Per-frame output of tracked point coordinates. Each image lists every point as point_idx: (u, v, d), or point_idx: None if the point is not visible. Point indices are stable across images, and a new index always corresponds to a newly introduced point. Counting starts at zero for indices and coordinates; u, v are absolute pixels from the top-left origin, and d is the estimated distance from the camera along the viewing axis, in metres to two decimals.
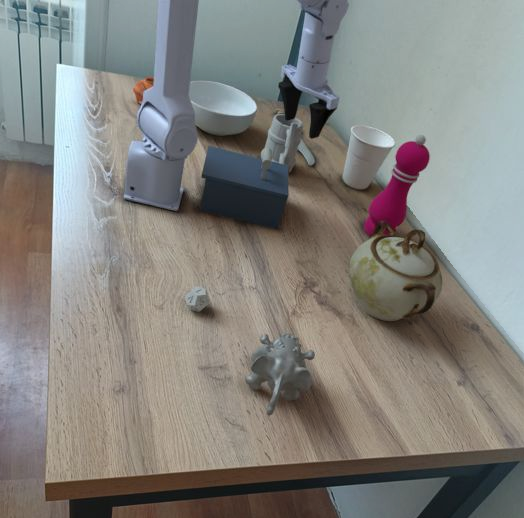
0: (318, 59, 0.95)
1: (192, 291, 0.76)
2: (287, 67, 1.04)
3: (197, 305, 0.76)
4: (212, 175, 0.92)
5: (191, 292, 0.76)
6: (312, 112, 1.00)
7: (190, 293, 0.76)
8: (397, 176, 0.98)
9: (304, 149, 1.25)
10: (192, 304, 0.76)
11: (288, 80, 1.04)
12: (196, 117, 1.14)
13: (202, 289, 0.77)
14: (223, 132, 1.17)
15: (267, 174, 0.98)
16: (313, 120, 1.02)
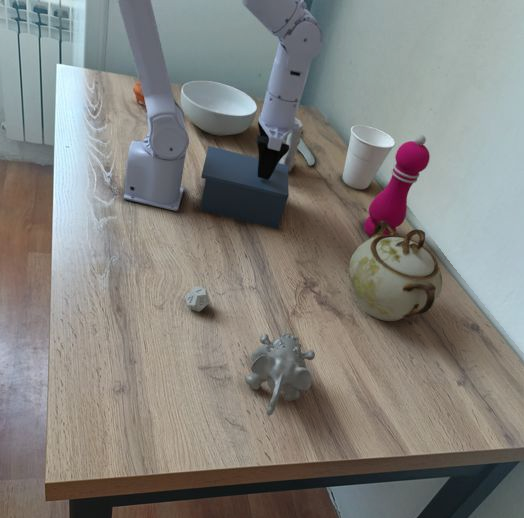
0: (280, 94, 0.85)
1: (192, 291, 0.76)
2: None
3: (197, 305, 0.76)
4: (212, 176, 0.92)
5: (191, 292, 0.76)
6: None
7: (190, 293, 0.76)
8: (397, 176, 0.97)
9: (304, 149, 1.25)
10: (192, 304, 0.76)
11: None
12: (196, 117, 1.14)
13: (202, 289, 0.77)
14: (223, 132, 1.17)
15: None
16: None
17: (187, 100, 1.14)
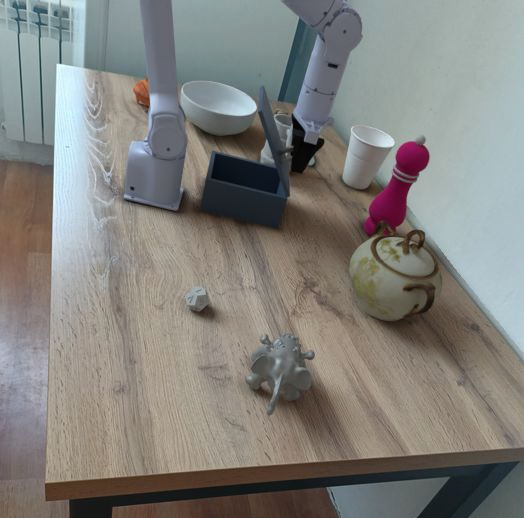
0: (316, 86, 0.84)
1: (192, 291, 0.76)
2: None
3: (197, 305, 0.76)
4: (265, 121, 0.86)
5: (191, 292, 0.76)
6: None
7: (190, 293, 0.76)
8: (397, 176, 0.98)
9: None
10: (192, 304, 0.76)
11: None
12: (196, 117, 1.14)
13: (202, 289, 0.77)
14: (223, 132, 1.17)
15: None
16: (293, 148, 0.91)
17: (187, 100, 1.14)
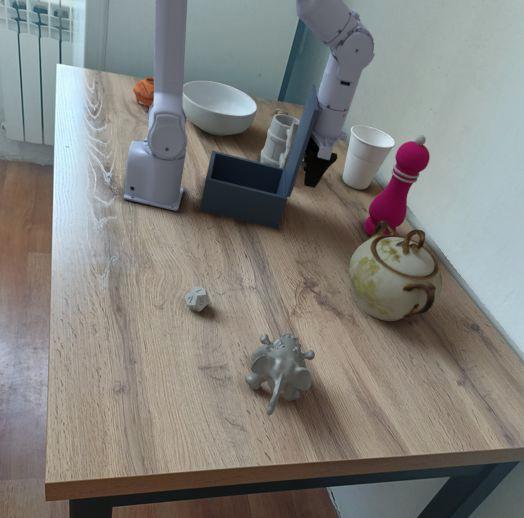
0: (329, 103, 0.86)
1: (192, 291, 0.76)
2: None
3: (197, 305, 0.76)
4: (314, 121, 0.85)
5: (191, 292, 0.76)
6: None
7: (190, 293, 0.76)
8: (397, 176, 0.97)
9: None
10: (192, 304, 0.76)
11: None
12: (196, 117, 1.14)
13: (202, 289, 0.77)
14: (223, 132, 1.17)
15: None
16: (306, 163, 0.92)
17: (187, 100, 1.14)
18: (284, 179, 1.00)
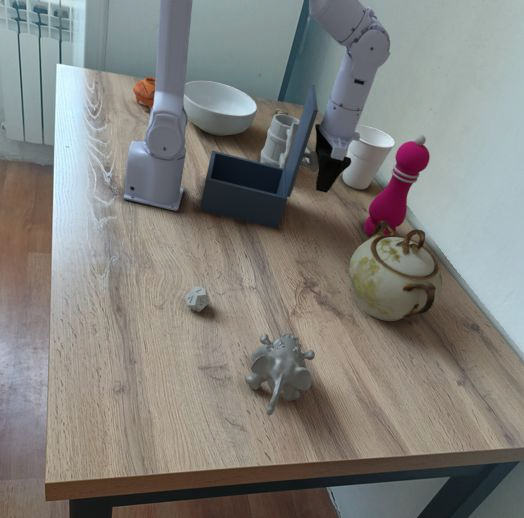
0: (342, 102, 0.84)
1: (192, 291, 0.76)
2: None
3: (197, 305, 0.76)
4: (314, 121, 0.85)
5: (191, 292, 0.76)
6: None
7: (190, 293, 0.76)
8: (397, 176, 0.98)
9: None
10: (192, 304, 0.76)
11: None
12: (196, 117, 1.14)
13: (202, 289, 0.77)
14: (223, 132, 1.17)
15: None
16: (319, 168, 0.90)
17: (187, 100, 1.14)
18: (284, 179, 1.00)
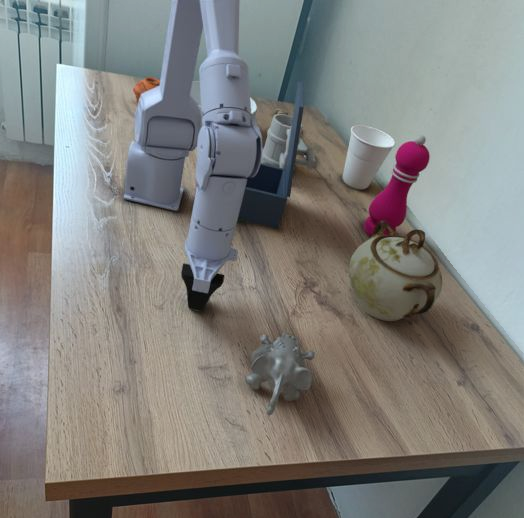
0: None
1: None
2: None
3: None
4: (301, 118, 0.85)
5: None
6: None
7: None
8: (397, 176, 0.97)
9: (304, 149, 1.25)
10: None
11: None
12: None
13: None
14: None
15: None
16: None
17: None
18: (284, 179, 1.00)
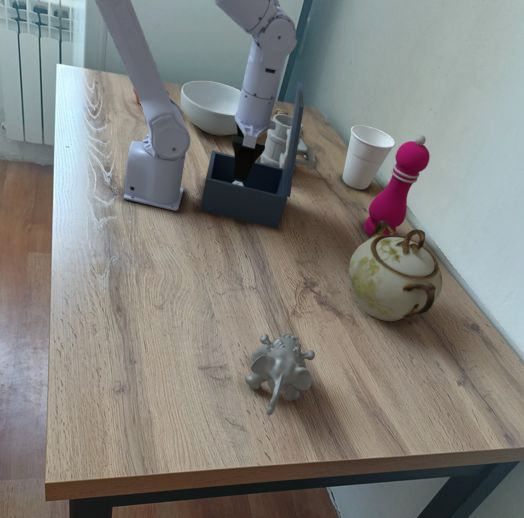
0: (256, 92, 0.85)
1: (233, 183, 0.99)
2: None
3: None
4: (301, 118, 0.85)
5: None
6: None
7: None
8: (397, 176, 0.97)
9: (304, 149, 1.25)
10: None
11: None
12: (196, 117, 1.14)
13: (240, 182, 1.00)
14: (223, 132, 1.17)
15: None
16: None
17: (187, 100, 1.14)
18: (284, 179, 1.00)
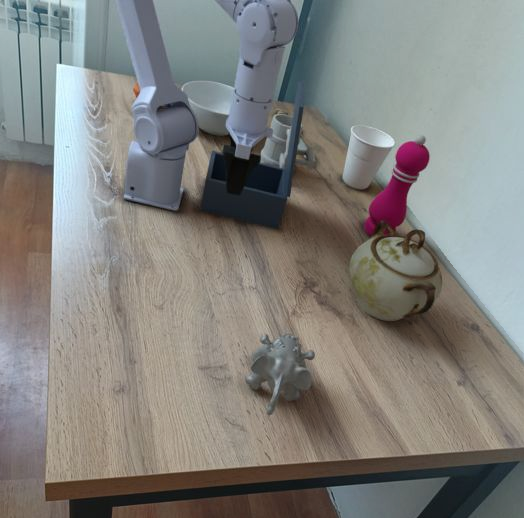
0: (236, 87, 0.75)
1: None
2: None
3: None
4: (301, 118, 0.85)
5: None
6: None
7: None
8: (397, 176, 0.97)
9: (304, 149, 1.25)
10: None
11: None
12: None
13: None
14: (223, 132, 1.17)
15: None
16: (226, 167, 0.79)
17: None
18: (284, 179, 1.00)
